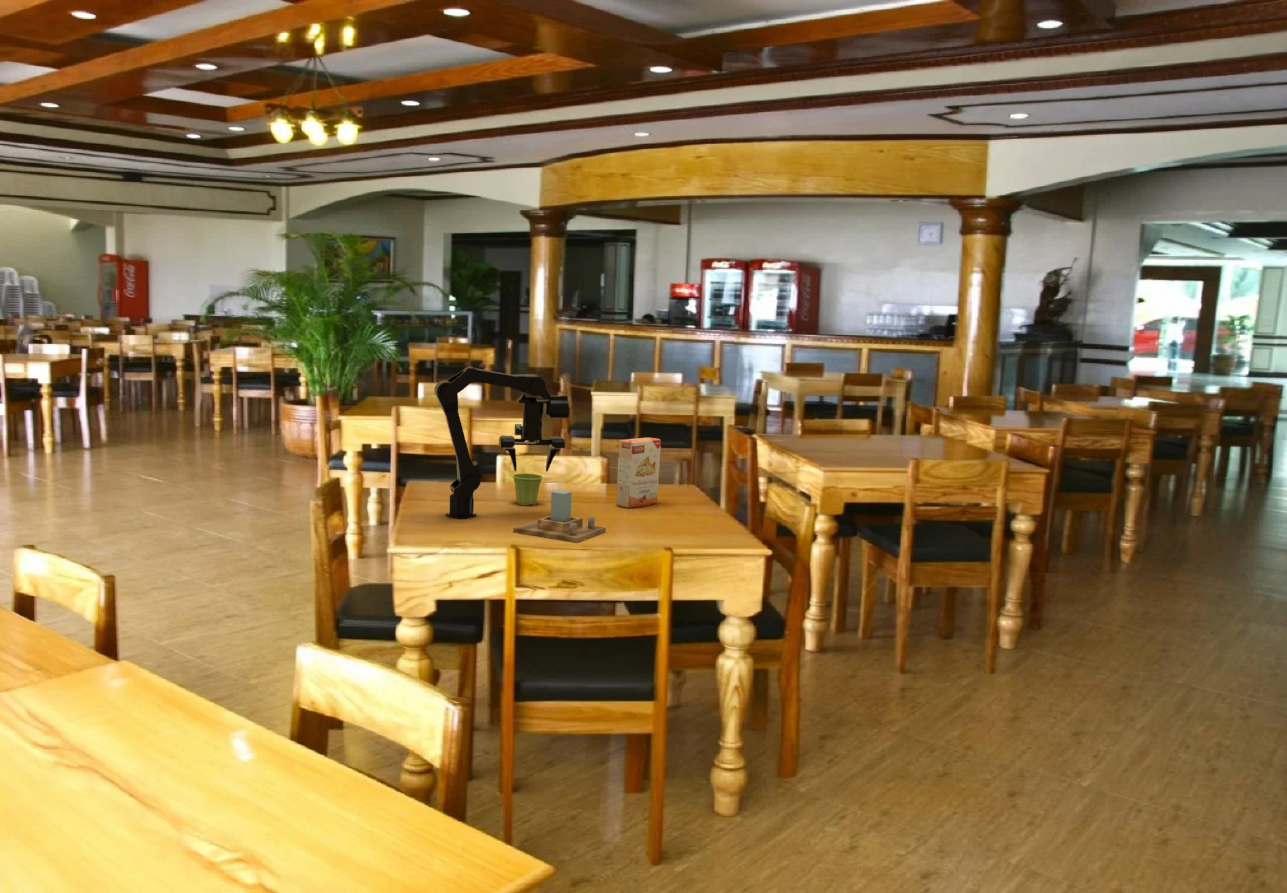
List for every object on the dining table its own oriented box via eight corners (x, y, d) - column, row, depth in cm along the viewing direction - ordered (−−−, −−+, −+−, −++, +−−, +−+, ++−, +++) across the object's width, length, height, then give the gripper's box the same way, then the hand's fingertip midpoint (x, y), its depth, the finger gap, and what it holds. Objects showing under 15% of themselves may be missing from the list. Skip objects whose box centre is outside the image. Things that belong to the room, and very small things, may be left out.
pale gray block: (550, 528, 295) (551, 492, 293) (557, 525, 298) (558, 490, 297) (562, 530, 293) (564, 494, 292) (570, 527, 296) (571, 491, 295)
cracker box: (629, 509, 331) (632, 442, 328) (615, 506, 335) (618, 439, 332) (658, 503, 342) (662, 438, 339) (644, 500, 346) (647, 436, 343)
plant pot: (544, 501, 337) (545, 474, 335) (538, 507, 327) (539, 479, 326) (515, 499, 338) (516, 472, 336) (508, 505, 328) (509, 477, 327)
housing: (513, 532, 293) (513, 517, 292) (543, 522, 307) (544, 507, 307) (577, 542, 284) (577, 527, 284) (605, 531, 299) (606, 517, 298)
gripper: (560, 415, 322) (558, 466, 324) (497, 414, 317) (496, 466, 320) (566, 420, 311) (564, 473, 313) (501, 419, 307) (500, 473, 309)
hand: (531, 471), depth 314 cm, fingers open, 9 cm apart
